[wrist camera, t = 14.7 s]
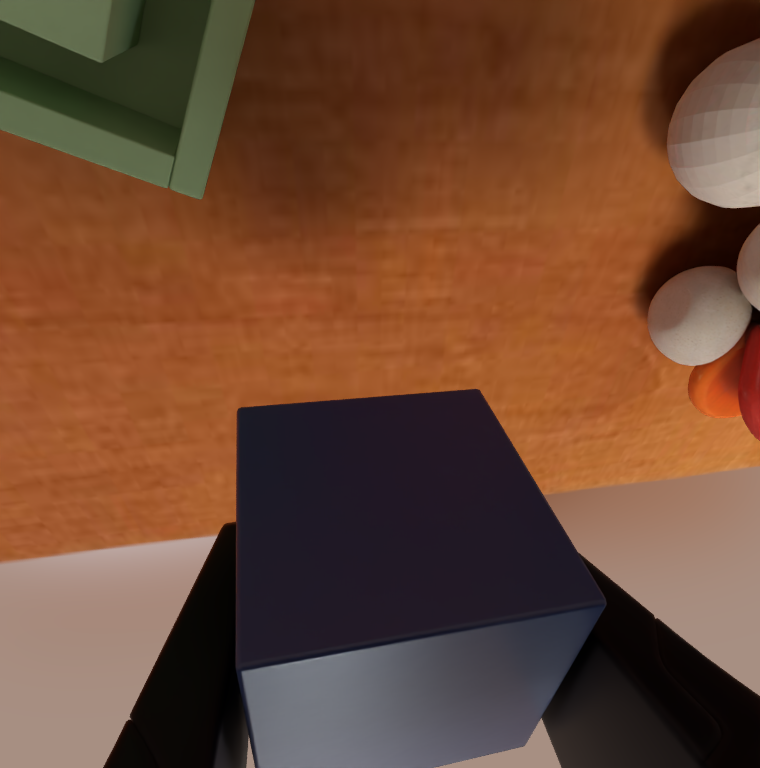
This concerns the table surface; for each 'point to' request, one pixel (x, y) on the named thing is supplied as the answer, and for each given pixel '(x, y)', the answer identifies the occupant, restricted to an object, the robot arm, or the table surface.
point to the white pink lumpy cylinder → (720, 131)
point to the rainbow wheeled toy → (715, 333)
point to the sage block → (80, 23)
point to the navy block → (397, 584)
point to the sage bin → (132, 92)
